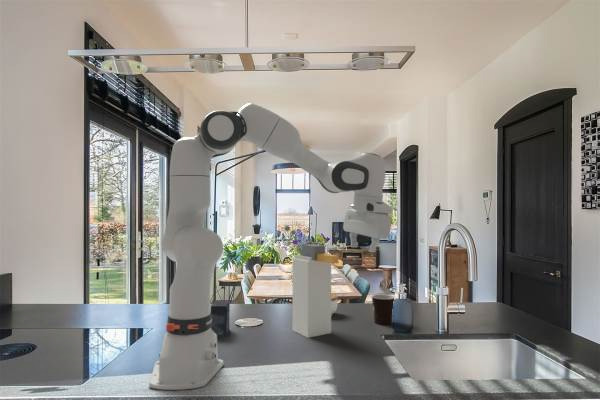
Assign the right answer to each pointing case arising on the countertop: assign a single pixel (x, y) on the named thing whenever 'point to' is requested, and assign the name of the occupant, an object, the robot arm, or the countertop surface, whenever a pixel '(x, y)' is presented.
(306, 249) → the grey and orange bar
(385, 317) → the coffee mug
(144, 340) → the countertop surface
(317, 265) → the tall grey pillar
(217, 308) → the box
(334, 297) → the lidded jar
